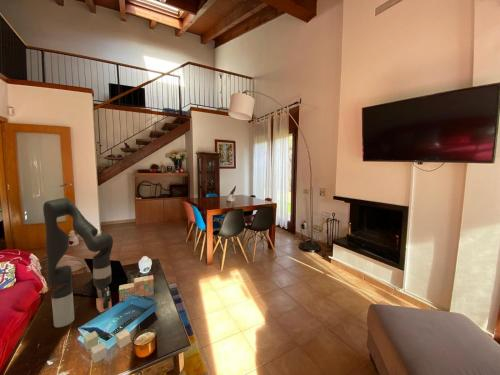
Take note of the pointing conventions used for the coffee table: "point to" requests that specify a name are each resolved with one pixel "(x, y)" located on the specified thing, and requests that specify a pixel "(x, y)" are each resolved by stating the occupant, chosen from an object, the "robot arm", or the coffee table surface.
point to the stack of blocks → (137, 288)
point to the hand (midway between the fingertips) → (104, 306)
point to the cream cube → (123, 338)
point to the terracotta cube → (101, 305)
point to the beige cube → (98, 352)
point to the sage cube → (91, 340)
